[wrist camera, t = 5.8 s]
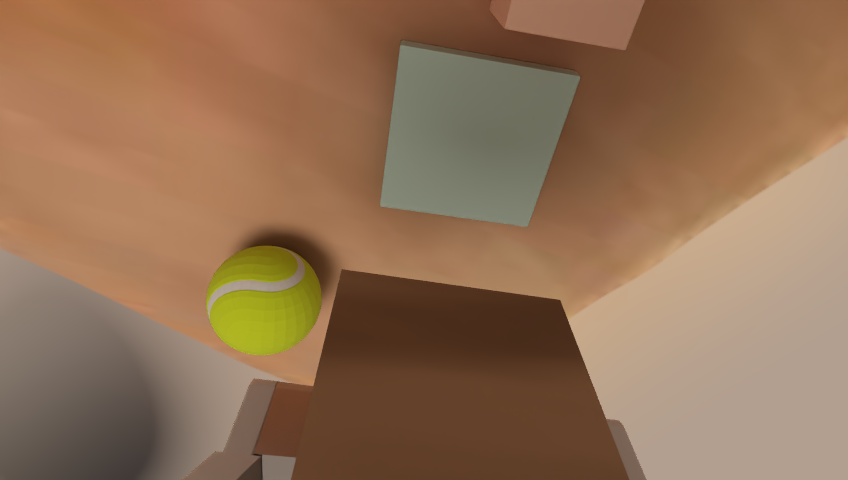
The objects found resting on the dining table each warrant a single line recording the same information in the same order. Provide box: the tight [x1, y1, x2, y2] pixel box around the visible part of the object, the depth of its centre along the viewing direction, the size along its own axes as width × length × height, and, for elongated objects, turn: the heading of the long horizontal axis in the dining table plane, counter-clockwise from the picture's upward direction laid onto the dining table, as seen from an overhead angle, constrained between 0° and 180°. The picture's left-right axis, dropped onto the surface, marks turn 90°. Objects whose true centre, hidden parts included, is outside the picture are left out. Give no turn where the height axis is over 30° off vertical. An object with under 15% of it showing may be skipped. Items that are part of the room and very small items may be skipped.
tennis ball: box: [206, 246, 322, 355], centre depth 28 cm, size 7×7×7 cm
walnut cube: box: [291, 269, 629, 480], centre depth 9 cm, size 5×5×5 cm
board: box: [380, 40, 581, 227], centre depth 25 cm, size 9×9×1 cm
